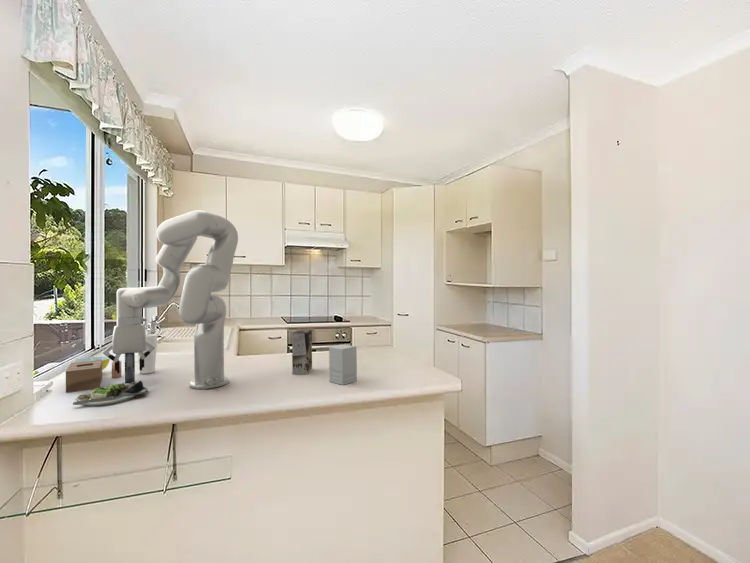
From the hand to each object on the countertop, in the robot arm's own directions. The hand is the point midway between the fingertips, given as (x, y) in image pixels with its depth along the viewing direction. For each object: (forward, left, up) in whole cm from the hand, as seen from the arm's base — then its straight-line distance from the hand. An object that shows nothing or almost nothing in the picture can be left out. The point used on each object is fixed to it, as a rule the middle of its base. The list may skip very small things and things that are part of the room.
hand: (129, 370), depth 130 cm
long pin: (0, 0, -4) cm, 4 cm away
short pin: (+12, +4, -4) cm, 13 cm away
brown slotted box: (+6, +13, -4) cm, 15 cm away
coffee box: (-23, -57, -4) cm, 62 cm away
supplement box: (-45, -63, -4) cm, 78 cm away
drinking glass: (+13, -6, -4) cm, 15 cm away
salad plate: (-17, +4, -5) cm, 18 cm away
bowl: (+22, +12, -4) cm, 25 cm away
